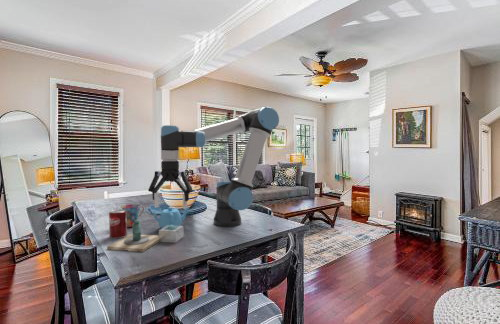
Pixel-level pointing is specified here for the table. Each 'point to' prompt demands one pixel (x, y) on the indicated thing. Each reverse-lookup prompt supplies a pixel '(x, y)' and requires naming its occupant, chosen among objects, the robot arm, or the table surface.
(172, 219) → the teapot
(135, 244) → the peg stand
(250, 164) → the robot arm
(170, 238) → the white square bowl
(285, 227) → the table surface
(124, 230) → the soda can
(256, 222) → the table surface
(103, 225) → the table surface
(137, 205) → the mug
